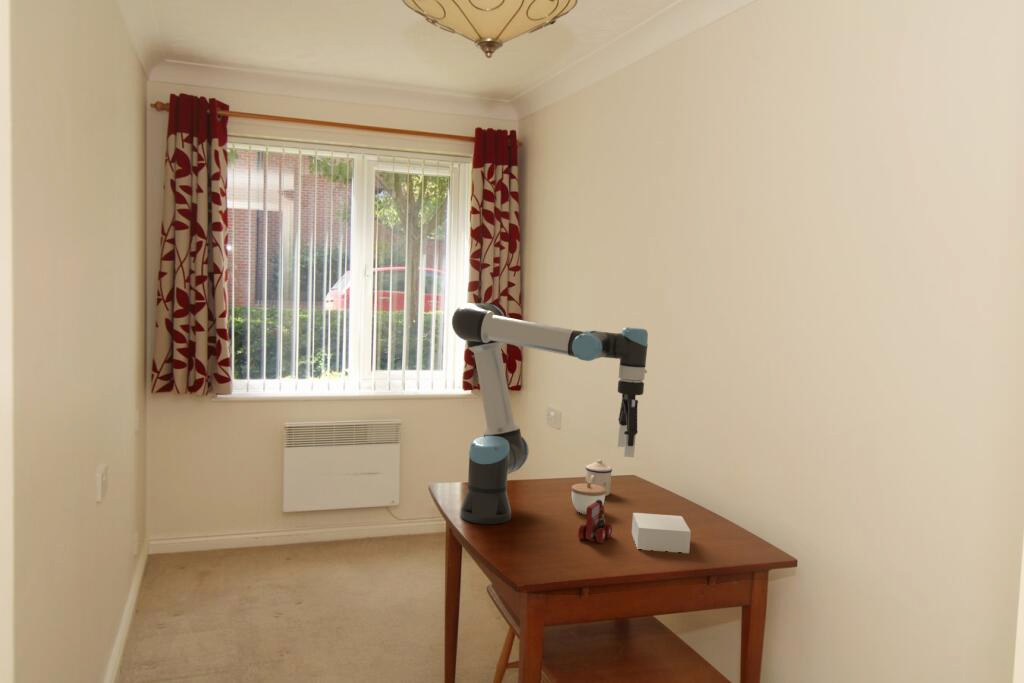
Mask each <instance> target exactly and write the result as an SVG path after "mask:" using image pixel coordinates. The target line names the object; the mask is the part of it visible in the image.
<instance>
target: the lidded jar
mask: <svg viewBox="0 0 1024 683" xmlns="http://www.w3.org/2000/svg"><path fill="white" fill-rule="evenodd" d="M605 493H606V489H605V488H604V487H602V486H599V485H595V484H591V483H590V482H588V483H587V484H586V483H585V482H584V483H583V482H582V483H575V484H573V485H571V500H572V501H571V502H572V504H573V507H574V508H575V509H576V510H577V513H579V512H580V513H579V514H581V513H582V514H581V515H586V512H587V507H588V506H590V505H591V504H593V503H595V502H596V501H597V500H601V501H602V505H603V506H604V503H605V499H606V496H605Z"/></svg>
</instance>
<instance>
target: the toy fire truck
mask: <svg viewBox="0 0 1024 683" xmlns="http://www.w3.org/2000/svg"><path fill="white" fill-rule="evenodd" d="M585 515H586V523H585V524H580V525H579V527H578V532H577V534H578V539H579V540H583V539H584V540H586V539H587V538H588V539H596V540H595V541H596V543H597V544H603V543H605V540H606V539H610V538H611V537H612V532H613V525H612V524H611V523H608V522H607V523H606V513H605V507H604V504H603V505H602V501H601V500H597V501H596V502H595V503H593V504H591V505H590V506H588V507H587V512H586V514H585ZM585 538H586V539H585Z"/></svg>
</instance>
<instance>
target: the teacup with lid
mask: <svg viewBox="0 0 1024 683" xmlns="http://www.w3.org/2000/svg"><path fill="white" fill-rule="evenodd" d="M585 471H586V472H585V482H584V483H586V484H587V483H588V482H590V483H591V484H595V485H599V486H602V487H604V488H605V489H606V493H605V497H607V496H609V495H610V494H611V482H612V472H613V469H612V467H611V466H610V465H607V464H606V463H604V462H603V460H602V459H596V461H595V462H592V463H590V464H587V465H586V466H585Z"/></svg>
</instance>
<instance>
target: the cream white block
mask: <svg viewBox="0 0 1024 683" xmlns="http://www.w3.org/2000/svg"><path fill="white" fill-rule="evenodd" d="M691 533H692V532H691V529H690V528H689V526H688V525H687V523H686V521H685V519H684V518H683V516H681V515H672V514H669V515H668V514H657V513H656V514H655V513H646V512H645V513H644V512H632V524H631V535H632V538H633V541H635V542H634V545H635V544H636V545H635V547H637V548H636V550H638V549H642V550H641V551H651V550H653V551H655V552H665V551H668V552H667V553H678V552H682V554H690V546H691V537H692V536H691V535H692V534H691Z"/></svg>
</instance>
